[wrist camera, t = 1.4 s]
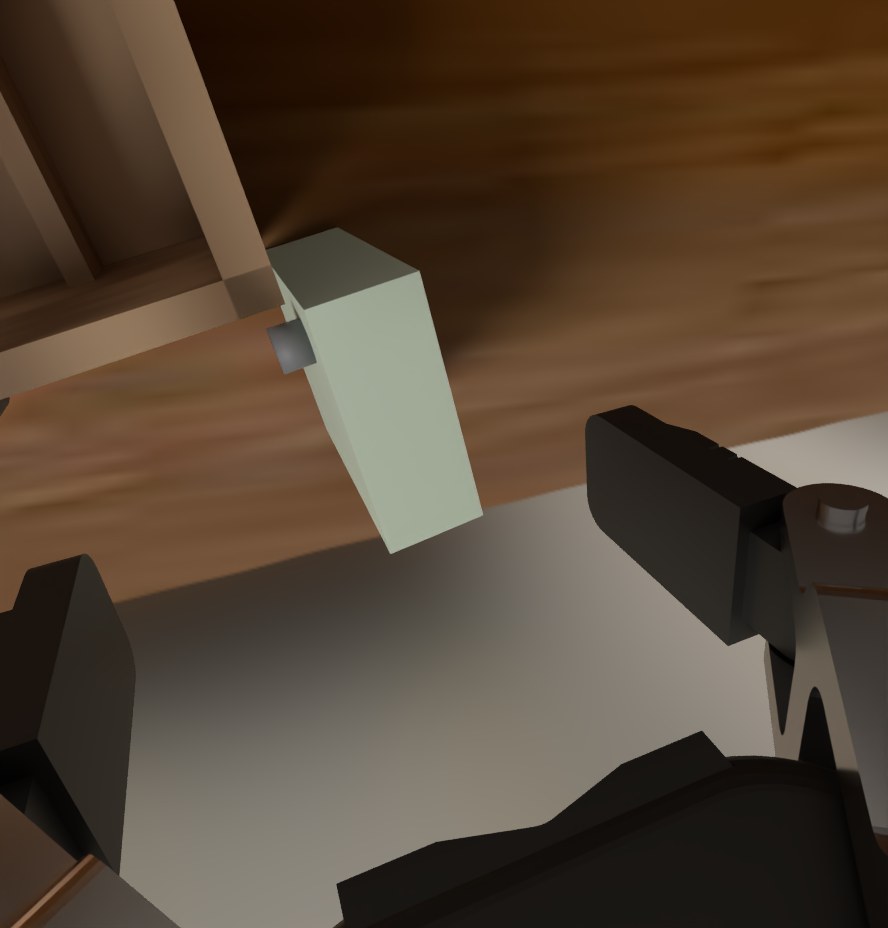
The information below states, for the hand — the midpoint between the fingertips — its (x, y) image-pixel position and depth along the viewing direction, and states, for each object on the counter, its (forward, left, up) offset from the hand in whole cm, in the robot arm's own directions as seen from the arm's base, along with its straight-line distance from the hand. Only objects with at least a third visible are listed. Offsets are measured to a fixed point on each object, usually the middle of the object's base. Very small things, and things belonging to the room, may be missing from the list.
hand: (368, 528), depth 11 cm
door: (-2, +2, -19) cm, 20 cm away
